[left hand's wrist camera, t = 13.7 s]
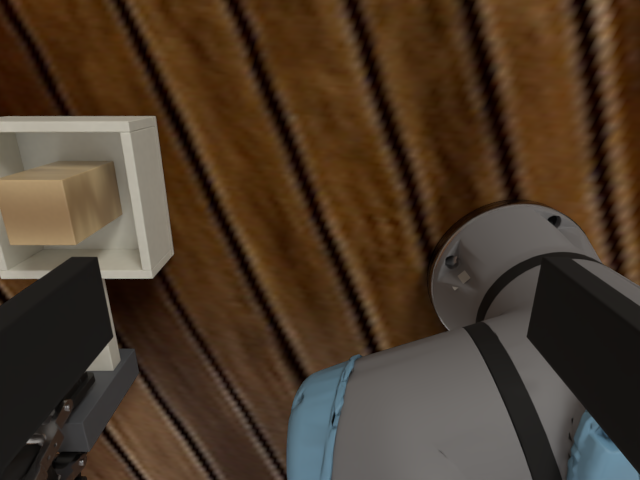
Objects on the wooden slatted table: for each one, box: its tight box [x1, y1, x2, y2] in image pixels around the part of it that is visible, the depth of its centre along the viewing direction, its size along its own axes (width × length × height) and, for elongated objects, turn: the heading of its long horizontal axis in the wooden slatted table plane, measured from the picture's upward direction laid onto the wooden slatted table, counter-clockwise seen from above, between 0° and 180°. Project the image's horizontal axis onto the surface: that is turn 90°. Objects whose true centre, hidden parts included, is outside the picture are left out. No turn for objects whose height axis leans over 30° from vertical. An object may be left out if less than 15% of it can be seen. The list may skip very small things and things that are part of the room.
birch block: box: [0, 161, 122, 245], centre depth 34 cm, size 5×5×8 cm
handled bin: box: [0, 116, 174, 452], centre depth 35 cm, size 26×13×12 cm, turn 0°
